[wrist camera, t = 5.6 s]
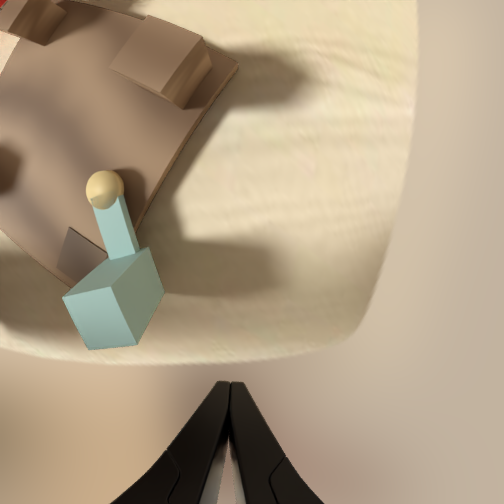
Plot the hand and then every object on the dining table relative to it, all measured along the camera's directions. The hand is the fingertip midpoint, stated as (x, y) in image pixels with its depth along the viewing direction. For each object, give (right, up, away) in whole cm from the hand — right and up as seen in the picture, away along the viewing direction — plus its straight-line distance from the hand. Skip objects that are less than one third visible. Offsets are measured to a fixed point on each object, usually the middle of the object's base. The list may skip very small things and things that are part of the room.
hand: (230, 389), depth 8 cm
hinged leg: (-7, +5, +7) cm, 11 cm away
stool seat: (-13, +13, +6) cm, 19 cm away
